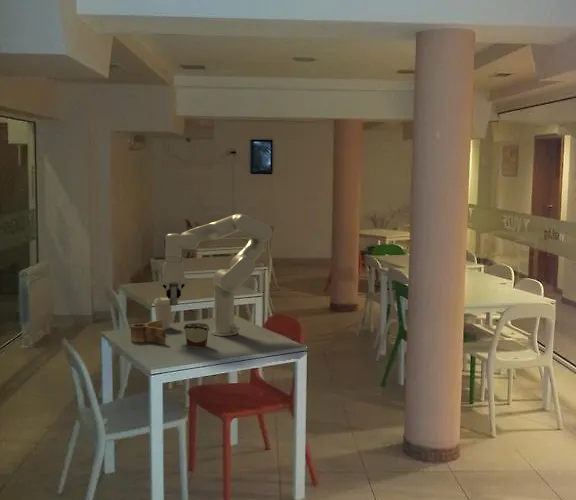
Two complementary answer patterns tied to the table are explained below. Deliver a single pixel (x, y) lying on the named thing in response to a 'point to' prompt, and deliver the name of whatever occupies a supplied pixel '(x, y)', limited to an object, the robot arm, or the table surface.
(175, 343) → the table surface
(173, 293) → the pin
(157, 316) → the coffee cup
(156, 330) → the hinge
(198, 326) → the food container
